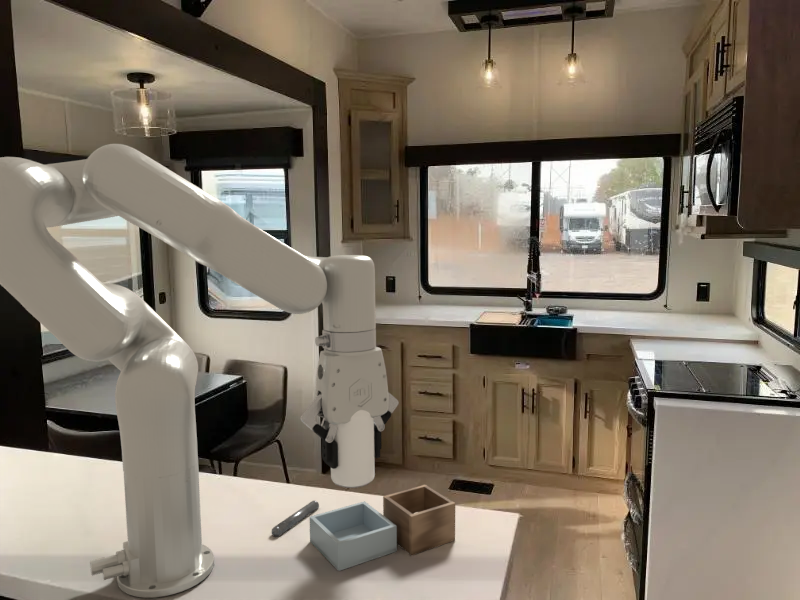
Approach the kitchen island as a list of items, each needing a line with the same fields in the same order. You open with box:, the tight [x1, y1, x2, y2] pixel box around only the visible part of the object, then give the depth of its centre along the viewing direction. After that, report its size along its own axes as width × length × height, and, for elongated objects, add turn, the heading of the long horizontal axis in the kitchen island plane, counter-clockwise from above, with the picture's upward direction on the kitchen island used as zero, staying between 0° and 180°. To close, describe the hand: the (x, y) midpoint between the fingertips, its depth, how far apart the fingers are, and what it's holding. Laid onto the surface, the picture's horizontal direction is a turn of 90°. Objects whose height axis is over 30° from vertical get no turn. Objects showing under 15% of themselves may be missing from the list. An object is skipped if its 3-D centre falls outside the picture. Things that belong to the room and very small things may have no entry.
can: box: [330, 405, 376, 489], centre depth 89 cm, size 6×6×12 cm
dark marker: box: [271, 500, 320, 538], centre depth 99 cm, size 12×2×2 cm, turn 153°
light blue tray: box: [309, 500, 398, 572], centre depth 91 cm, size 10×10×4 cm
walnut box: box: [382, 484, 456, 556], centre depth 94 cm, size 8×8×6 cm
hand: (352, 459), depth 90 cm, fingers closed on can, 6 cm apart
